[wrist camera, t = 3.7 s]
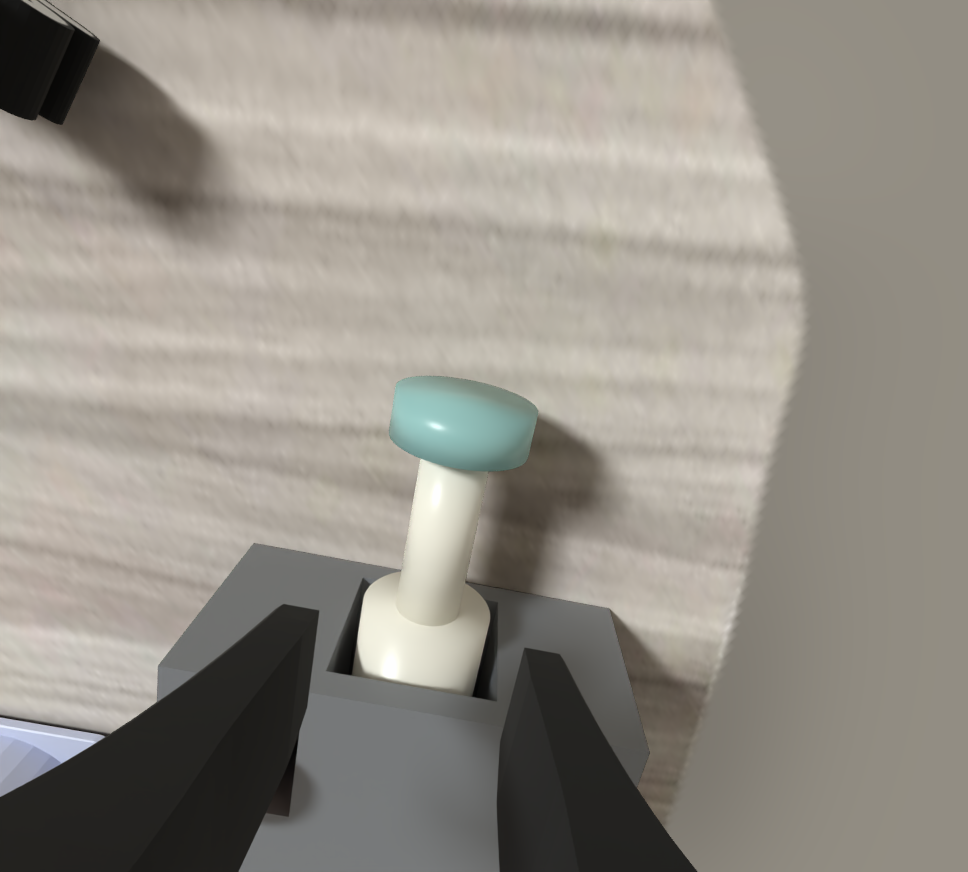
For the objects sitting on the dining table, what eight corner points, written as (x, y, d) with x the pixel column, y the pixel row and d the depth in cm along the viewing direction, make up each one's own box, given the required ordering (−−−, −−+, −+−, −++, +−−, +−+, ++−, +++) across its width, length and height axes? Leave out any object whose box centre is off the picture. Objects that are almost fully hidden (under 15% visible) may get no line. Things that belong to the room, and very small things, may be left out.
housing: (555, 786, 23) (572, 966, 18) (238, 731, 23) (151, 897, 17) (609, 608, 21) (649, 752, 15) (253, 543, 20) (158, 666, 15)
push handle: (447, 776, 22) (436, 878, 18) (345, 758, 22) (316, 858, 18) (534, 392, 17) (542, 434, 14) (407, 367, 17) (384, 403, 14)
